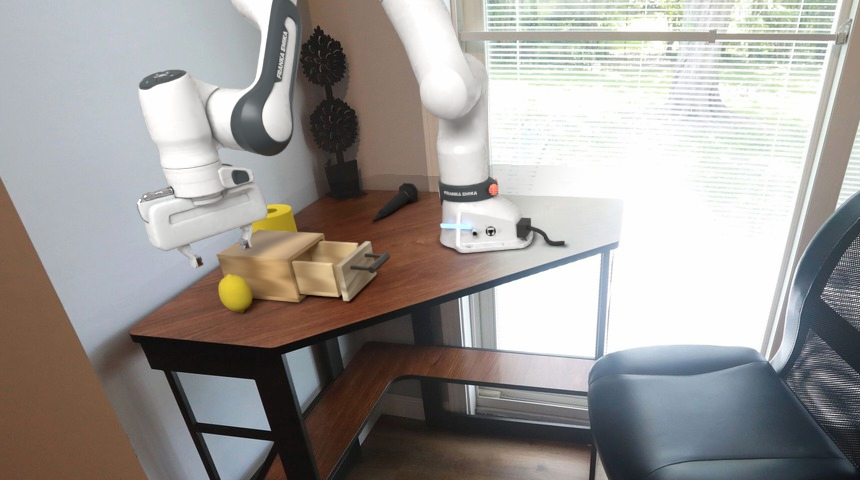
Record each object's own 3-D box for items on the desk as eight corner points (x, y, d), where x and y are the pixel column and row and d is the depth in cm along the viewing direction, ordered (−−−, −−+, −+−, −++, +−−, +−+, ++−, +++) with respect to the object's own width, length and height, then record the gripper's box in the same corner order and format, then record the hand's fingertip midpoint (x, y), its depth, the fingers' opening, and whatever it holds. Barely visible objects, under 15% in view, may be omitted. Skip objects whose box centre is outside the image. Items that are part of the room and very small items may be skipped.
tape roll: (285, 259, 130) (274, 219, 125) (248, 256, 133) (236, 217, 127) (309, 243, 138) (299, 205, 133) (274, 240, 141) (263, 203, 135)
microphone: (382, 233, 150) (420, 201, 164) (383, 214, 146) (422, 183, 160) (364, 225, 151) (404, 194, 165) (365, 206, 147) (405, 176, 161)
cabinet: (333, 273, 123) (323, 233, 118) (298, 302, 112) (286, 259, 107) (270, 268, 126) (258, 229, 121) (230, 296, 115) (216, 254, 110)
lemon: (246, 320, 106) (233, 281, 102) (220, 318, 107) (206, 279, 103) (262, 306, 111) (250, 268, 106) (237, 304, 112) (224, 267, 107)
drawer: (399, 276, 118) (394, 242, 114) (373, 303, 108) (366, 268, 104) (315, 269, 122) (307, 237, 118) (282, 295, 112) (272, 261, 108)
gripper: (141, 199, 86) (174, 282, 94) (261, 168, 100) (281, 242, 107) (123, 193, 90) (156, 273, 97) (241, 163, 103) (262, 236, 111)
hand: (222, 257), depth 103 cm, fingers open, 8 cm apart
